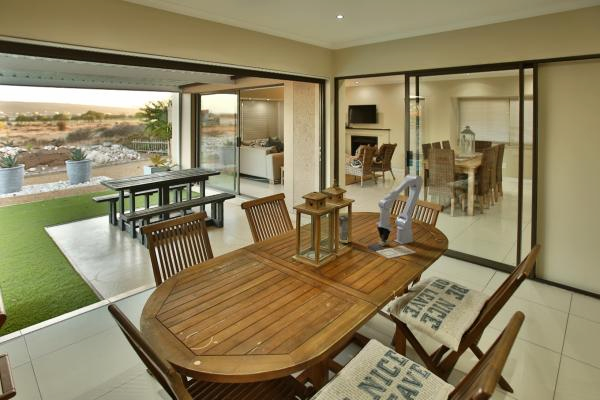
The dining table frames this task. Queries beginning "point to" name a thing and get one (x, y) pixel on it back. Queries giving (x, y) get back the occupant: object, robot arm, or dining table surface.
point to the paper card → (395, 252)
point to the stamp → (383, 242)
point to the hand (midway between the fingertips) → (383, 238)
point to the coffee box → (343, 227)
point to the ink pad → (374, 247)
